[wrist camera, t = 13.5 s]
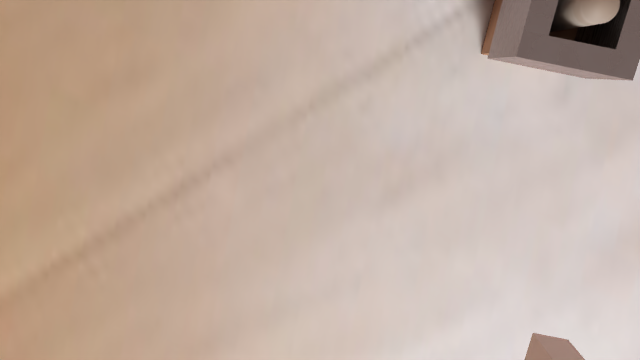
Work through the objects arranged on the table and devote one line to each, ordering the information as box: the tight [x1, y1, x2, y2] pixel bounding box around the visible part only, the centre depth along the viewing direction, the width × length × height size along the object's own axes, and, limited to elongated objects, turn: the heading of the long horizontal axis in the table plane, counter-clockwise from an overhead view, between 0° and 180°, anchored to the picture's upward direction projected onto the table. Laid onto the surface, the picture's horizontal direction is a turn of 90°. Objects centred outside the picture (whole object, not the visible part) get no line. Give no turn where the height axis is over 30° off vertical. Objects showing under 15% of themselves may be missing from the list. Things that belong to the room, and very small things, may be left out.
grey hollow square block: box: [488, 0, 640, 80], centre depth 33 cm, size 7×7×6 cm
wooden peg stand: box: [481, 0, 620, 55], centre depth 34 cm, size 6×6×11 cm
